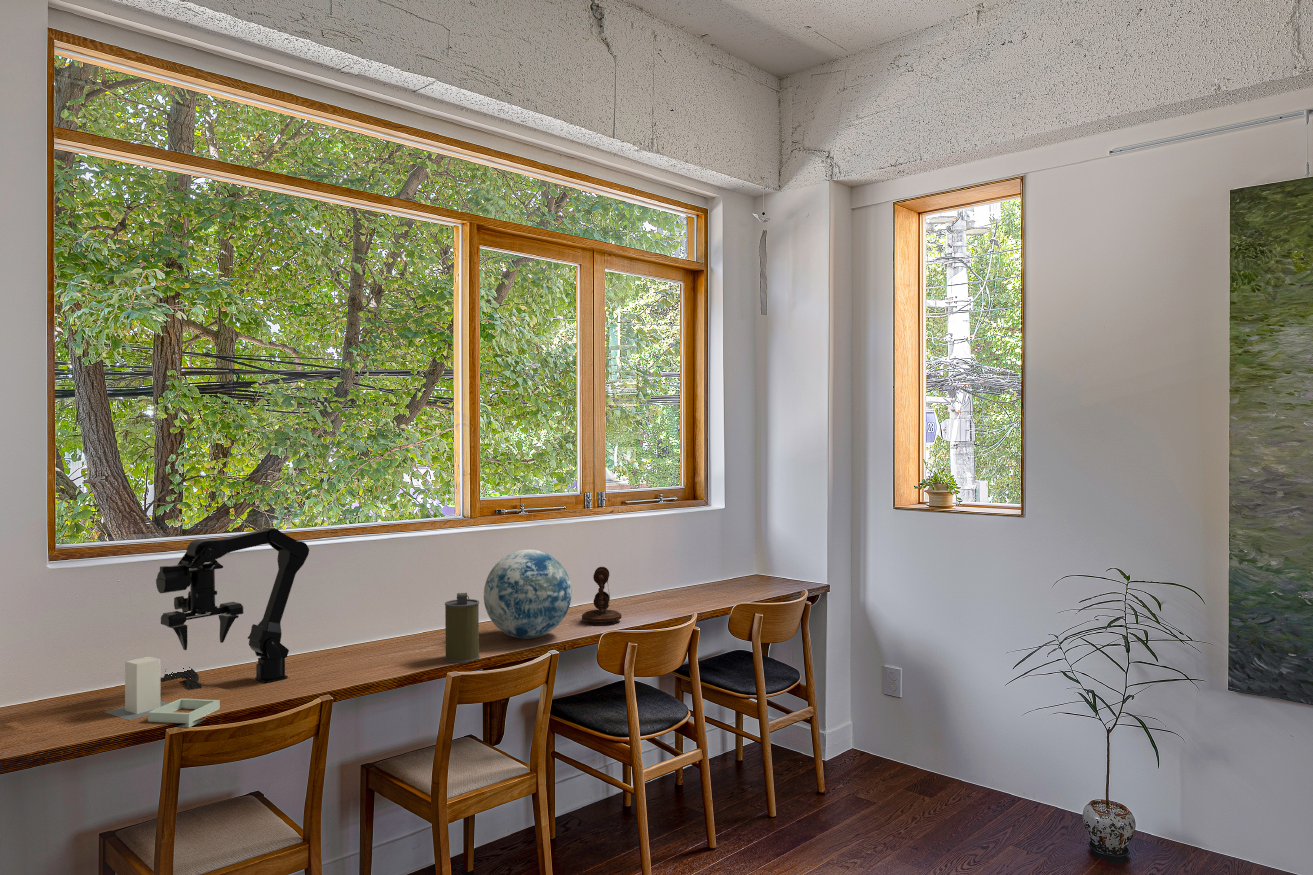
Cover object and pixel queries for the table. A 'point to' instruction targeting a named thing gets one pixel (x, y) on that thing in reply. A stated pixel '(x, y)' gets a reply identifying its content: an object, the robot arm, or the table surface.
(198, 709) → the tray
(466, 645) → the canister
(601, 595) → the dark pedestal ornament
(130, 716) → the coaster
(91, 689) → the table surface
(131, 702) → the white block
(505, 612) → the globe
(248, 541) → the robot arm
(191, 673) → the hairbrush
